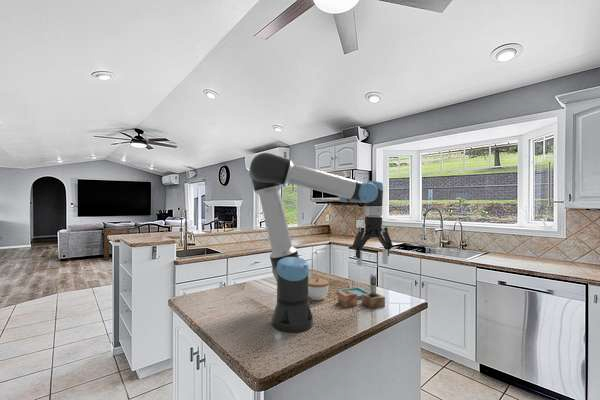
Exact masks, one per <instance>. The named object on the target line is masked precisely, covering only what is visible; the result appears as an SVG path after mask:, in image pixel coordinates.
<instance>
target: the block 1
mask: <svg viewBox="0 0 600 400" xmlns="http://www.w3.org/2000/svg"><path fill="white" fill-rule="evenodd" d="M337 301H338V302H337V303H338V304H339V305H341V306H343V307H344V308H347V307H349V308H350V307H356V306H358V299H357V294H356V293H354V292H352V291H350V290H348V291H340V292H338V291H337Z"/></svg>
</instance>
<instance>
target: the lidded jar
mask: <svg viewBox="0 0 600 400" xmlns="http://www.w3.org/2000/svg"><path fill="white" fill-rule="evenodd" d="M329 283H330V282H329V280H327V279H324V278H319V277H316V278H311V279H309V278H308V297H309V298H310V299H311V300H313V301H323V300H324V299H325V298H326V296H327V295H328V292H329V287H330V286H329Z"/></svg>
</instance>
